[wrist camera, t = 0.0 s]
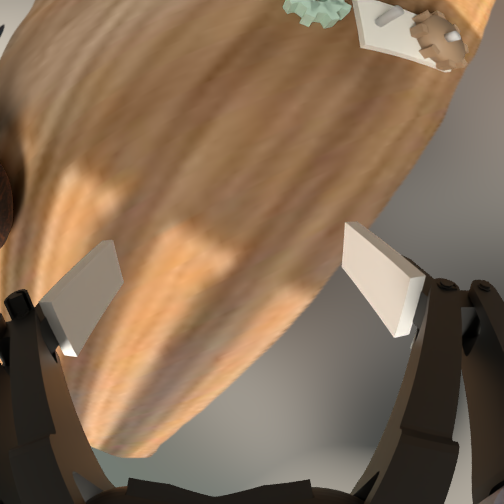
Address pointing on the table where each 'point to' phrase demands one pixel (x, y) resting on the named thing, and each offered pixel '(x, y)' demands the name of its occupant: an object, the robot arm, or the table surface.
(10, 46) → the table surface
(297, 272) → the table surface
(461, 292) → the robot arm
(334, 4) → the loose gear
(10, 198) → the brown wooden bulbous vase
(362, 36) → the gear board
